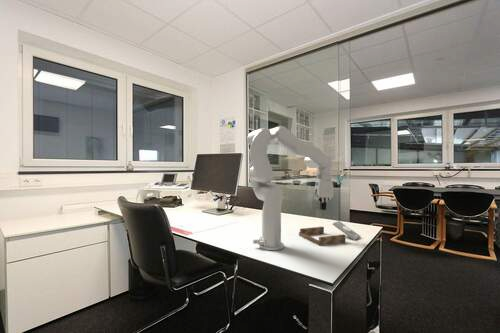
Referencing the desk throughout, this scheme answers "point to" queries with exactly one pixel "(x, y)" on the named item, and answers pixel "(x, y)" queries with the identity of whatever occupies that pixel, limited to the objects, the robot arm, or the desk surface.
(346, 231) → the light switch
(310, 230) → the walnut open frame
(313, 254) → the desk surface
